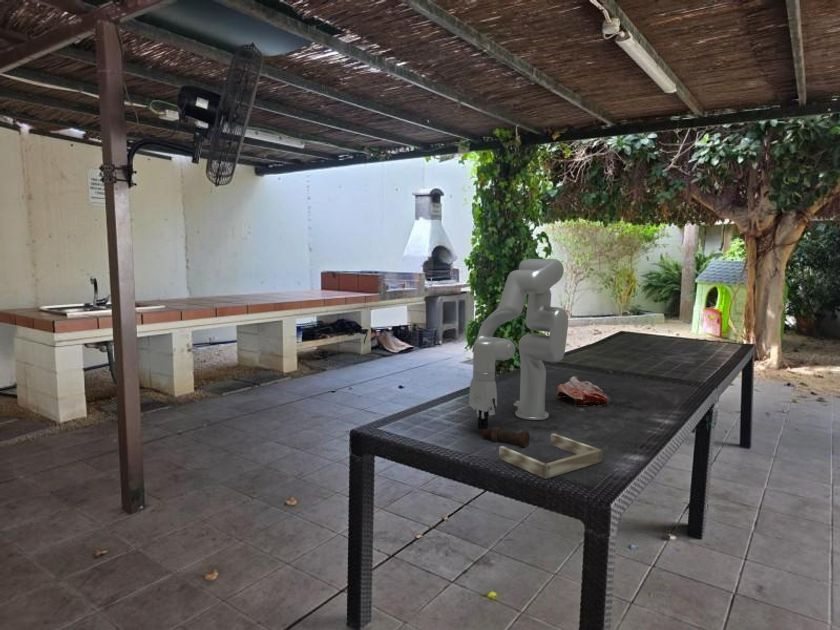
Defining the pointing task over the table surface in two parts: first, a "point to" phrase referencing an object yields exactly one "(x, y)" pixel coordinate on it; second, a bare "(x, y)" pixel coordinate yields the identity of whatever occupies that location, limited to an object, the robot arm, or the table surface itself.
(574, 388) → the meat
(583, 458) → the bay
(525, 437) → the bolt
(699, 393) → the table surface
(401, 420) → the table surface
